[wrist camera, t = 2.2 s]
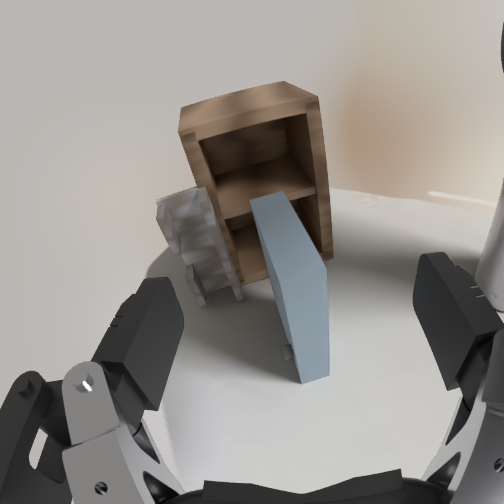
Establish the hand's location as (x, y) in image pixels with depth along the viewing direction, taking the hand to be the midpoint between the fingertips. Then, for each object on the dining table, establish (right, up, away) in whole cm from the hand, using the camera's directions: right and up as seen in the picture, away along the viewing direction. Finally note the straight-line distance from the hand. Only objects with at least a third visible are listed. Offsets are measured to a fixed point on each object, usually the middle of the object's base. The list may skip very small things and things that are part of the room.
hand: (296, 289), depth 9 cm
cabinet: (0, +1, +35) cm, 35 cm away
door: (+4, -9, +23) cm, 25 cm away
